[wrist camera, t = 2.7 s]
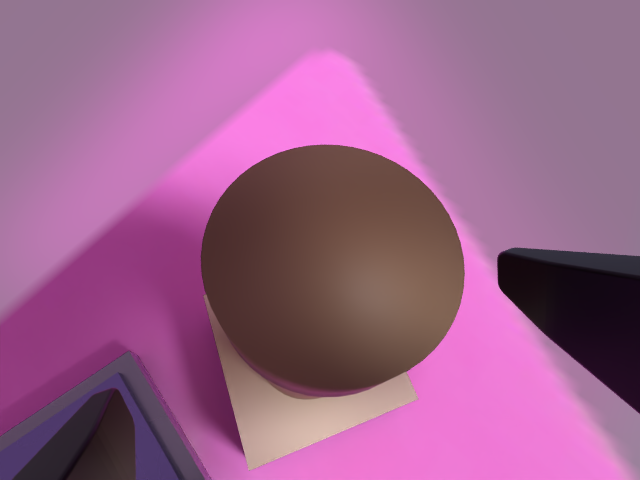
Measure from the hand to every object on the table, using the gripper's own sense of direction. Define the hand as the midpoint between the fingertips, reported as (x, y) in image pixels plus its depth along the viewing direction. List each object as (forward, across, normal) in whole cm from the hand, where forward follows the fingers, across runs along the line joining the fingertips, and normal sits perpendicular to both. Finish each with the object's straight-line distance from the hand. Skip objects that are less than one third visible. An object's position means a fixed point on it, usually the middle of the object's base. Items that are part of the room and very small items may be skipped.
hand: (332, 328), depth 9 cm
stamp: (+6, 0, +6) cm, 9 cm away
